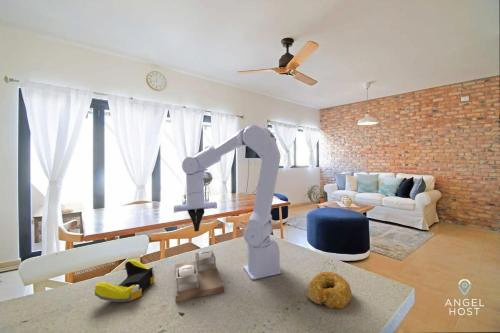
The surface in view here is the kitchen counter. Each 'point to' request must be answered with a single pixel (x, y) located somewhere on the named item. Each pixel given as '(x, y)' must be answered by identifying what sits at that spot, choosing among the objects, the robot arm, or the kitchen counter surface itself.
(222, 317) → the kitchen counter surface
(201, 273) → the knob board
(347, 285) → the bagel
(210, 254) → the knob right
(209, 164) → the robot arm
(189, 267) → the knob left
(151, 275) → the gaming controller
